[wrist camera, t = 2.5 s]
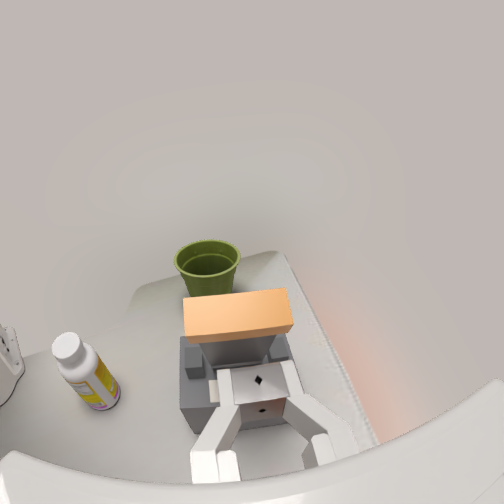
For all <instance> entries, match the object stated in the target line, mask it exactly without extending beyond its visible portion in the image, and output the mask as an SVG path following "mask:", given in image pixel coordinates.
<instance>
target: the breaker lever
mask: <svg viewBox="0 0 504 504" xmlns="http://www.w3.org/2000/svg"><path fill="white" fill-rule="evenodd" d="M183 307H184V325H185V337H186V338H187V340H188V342H189V343H190V344H196V343H199V345H200V347H201V349H202V351H203V353H204V355H205V357H206V358H207V360H208V362H209V364H210V366H211V369H215V368H225V367H235V366H243V365H251V364H259V363H263V359H264V357H265V356H266V354H267V352H268V350H269V348H270V347H271V345H272V343H273V341H274V339H275V337H276V336H277V334H284V333H288V332H289V330H290V329H291V327H292V326H293V324H294V323H293V319H292V314H291V309H290V305H289V300H288V296H287V291H286V288H278V289H270V290H261V291H252V292H243V293H233V294H223V295H212V296H201V297H190V298H183Z"/></svg>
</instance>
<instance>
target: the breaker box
mask: <svg viewBox="0 0 504 504" xmlns="http://www.w3.org/2000/svg"><path fill="white" fill-rule="evenodd" d="M287 360H292V361H293V362H294V359H293V356H292V353H291V350H290V347H289V344H288V341H287V338H286V335H285V333H284V334H277V336H276V337H275V339H274V341H273V343H272V345H271V347H270V348H269V350H268V352H267V354H266V356H265V357H264V359H263V363H259V364H251V365H243V366H235V367H225V368H215V369H211V366H210V364H209V362H208V360H207V358H206V357H205V355H204V353H203V351H202V349H201V347H200V345H199V343H196V344H190V343H189V342H188V340H187V338H186V337H185V336H182V337H180V410H181V411H182V413H183V415H184V417H185V419H186V420H187V422H188V424H189V426H190V427H191V429H192V431H193V432H194V434H201V433H202V431H203V429H204V428H205V426H206V424H207V423H208V421H209V419H210V418H211V416H212V414H213V412H214V411H215V409H216V407H220V400H219V390H218V381H217V370H222V369H233V368H242V367H250V366H256V365H262V364H269V363H274V362H282V361H287ZM294 364H295V362H294ZM295 367H296V366H295ZM296 370H297V369H296ZM297 373H298V372H297ZM230 374H231V372H230ZM298 376H299V375H298ZM299 379H300V378H299ZM300 383H301V381H300ZM301 386H302V384H301ZM302 389H303V387H302ZM303 392H304V390H303ZM304 394H305V393H304ZM284 423H288V422H287V421H286V420H285V419H284V418H283V416H280V417H273V418H267V419H260V420H254V421H247V422H242V424H241V426H240V428H239V430H246V429H254V428H261V427H267V426H273V425H279V424H284Z"/></svg>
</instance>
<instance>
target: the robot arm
mask: <svg viewBox="0 0 504 504" xmlns="http://www.w3.org/2000/svg"><path fill="white" fill-rule="evenodd" d="M24 370H25V367H24V364H23V360H22V357H21V353H20V349H19V345H18V341H17V337H16V333H15V330H14V329H13V328H12V327H4V328H3V327H2V326H1V324H0V405H2V404H3V403H4V402H5V401H6V400H7V399H8V398H9V396H10V395H11V393H12V391H13V389H14V387H15V384H16V382H17V380H18V379H19V378H20V376H21V375H22V374H23V372H24ZM230 372H231V374H230ZM217 381H218V390H219V400H220V407H216V409H215V411H214V412H213V414H212V416H211V418H210V419H209V421H208V423H207V424H206V426H205V428H204V429H203V431H202V433H201V434H200V436H199V438H198V439H197V441H196V443H195V444H194V446H193V448H192V449H191V451H190V459H191V471H192V483H193V484H175V483H154V482H142V481H133V480H125V479H118V478H111V477H106V476H100V475H95V474H90V473H86V472H82V471H77V470H73V469H70V468H66V467H62V466H59V465H56V464H52V463H49V462H46V461H43V460H40V459H38V458H35V457H32V456H29V455H27V454H24V453H22V452H19V451H16V450H13V451H11V452H9V453H8V454H7V455H6V456H4V457H3V458H2V459H1V460H0V504H504V381H503V380H500V379H498V378H494V379H492V380H490V381H489V382H488V383H486V384H485V385H483V386H482V387H481V388H479V389H478V390H477V391H475V392H474V393H473V394H471V395H470V396H468V397H467V398H465V399H464V400H462V401H461V402H460V403H458V404H457V405H455V406H453V407H452V408H450V409H449V410H447V411H445V412H444V413H442V414H440V415H439V416H437V417H435V418H433V419H432V420H430V421H428V422H426V423H425V424H423V425H421V426H419V427H417V428H415V429H413V430H411V431H409V432H407V433H405V434H403V435H401V436H399V437H397V438H394V439H392V440H390V441H388V442H385V443H383V444H381V445H378V446H376V447H373V448H371V449H368V450H366V451H363V452H360V450H359V447H358V444H357V442H356V439H355V436H354V434H353V431H352V429H351V426H350V424H348V423H347V422H345V421H344V420H343V419H341V418H340V417H339V416H337V415H336V414H334V413H333V412H332V411H330V410H329V409H328V408H326V407H325V406H324V405H322V404H321V403H320V402H318V401H317V400H316V399H315V398H313V397H312V396H311V395H309V394H308V393H306V394H304V392H303V389H302V386H301V383H300V379H299V376H298V373H297V370H296V367H295V364H294V362H293V361H292V360H287V361H282V362H274V363H269V364H262V365H256V366H250V367H242V368H233V369H222V370H217ZM280 416H283V418H284V419H285V420H286V421H287V422H288V423H289V424H290V425H291V426H292V427H293V428H294V429H295V430H296V431H298V432H299V433H300V434H301V435H302V436H303V437H304V438H305V439H306V440H307V441H308V442H309V444H308V445H307V447H306V449H305V450H304V452H303V453H302V459H303V462H304V466H305V470H301V471H296V472H292V473H287V474H282V475H277V476H271V477H265V478H258V479H251V480H243V481H242V478H241V473H240V468H239V464H238V460H237V456H236V453H235V452H233V451H232V450H229V449H230V447H231V445H232V443H233V441H234V439H235V437H236V435H237V433H238V430H239V428H240V426H241V424H242V422H247V421H254V420H260V419H267V418H273V417H280Z"/></svg>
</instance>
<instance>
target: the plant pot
mask: <svg viewBox="0 0 504 504" xmlns="http://www.w3.org/2000/svg"><path fill="white" fill-rule="evenodd" d="M240 257H241V255H240V252H239V250H238V249H237V248H236V247H235V246H234V245H232V244H230V243H228V242H226V241H221V240H200V241H196V242H193V243H190V244H188V245H186V246H184V247H182V248H181V249H180V250H179V251H178V252H177V253H176V255H175V257H174V265H175V267H176V268H177V269H178V271H180V273H181V276H182V277H183V279H184V281H185V283H186V286H187V289H188V291H189V294H190V296H191V297H201V296H212V295H223V294H231V291H232V285H233V278H234V273H235V271H236V266H237V265H238V263H239V261H240Z"/></svg>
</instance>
